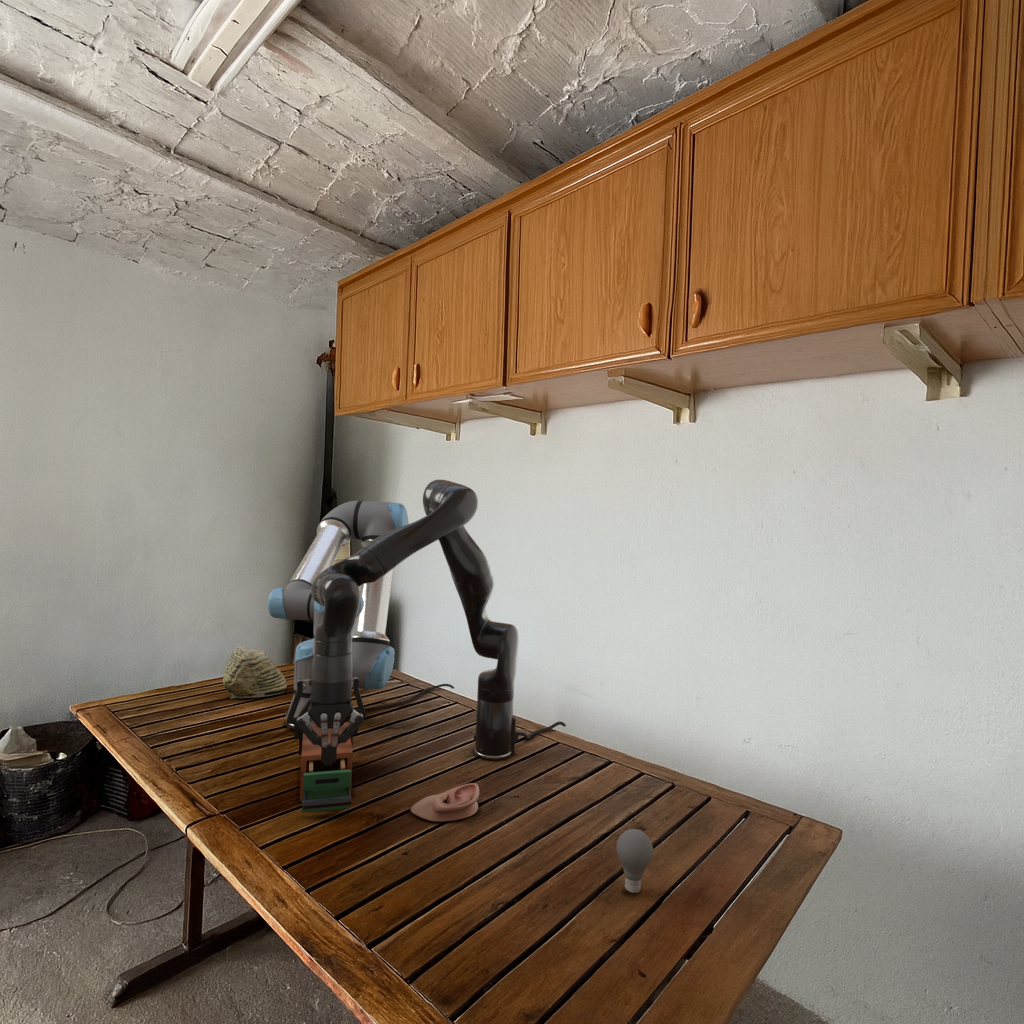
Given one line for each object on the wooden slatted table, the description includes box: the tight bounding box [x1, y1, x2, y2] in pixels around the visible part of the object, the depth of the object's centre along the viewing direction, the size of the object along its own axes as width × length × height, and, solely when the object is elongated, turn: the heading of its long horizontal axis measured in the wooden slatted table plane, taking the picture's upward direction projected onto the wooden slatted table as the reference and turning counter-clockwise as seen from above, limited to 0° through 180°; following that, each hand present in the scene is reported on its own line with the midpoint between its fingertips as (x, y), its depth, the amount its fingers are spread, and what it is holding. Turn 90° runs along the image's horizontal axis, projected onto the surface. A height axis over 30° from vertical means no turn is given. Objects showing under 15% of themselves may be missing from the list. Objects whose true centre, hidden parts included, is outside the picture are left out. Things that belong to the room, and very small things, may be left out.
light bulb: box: [615, 828, 654, 894], centre depth 106 cm, size 6×6×10 cm
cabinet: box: [299, 721, 354, 803], centre depth 142 cm, size 19×10×10 cm, turn 17°
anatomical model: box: [410, 782, 480, 822], centre depth 131 cm, size 13×4×12 cm
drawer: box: [301, 758, 352, 814], centre depth 131 cm, size 23×9×7 cm, turn 17°
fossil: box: [222, 646, 288, 699], centre depth 198 cm, size 9×18×15 cm, turn 132°
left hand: (325, 751), depth 147 cm, fingers closed on cabinet, 10 cm apart
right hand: (328, 764), depth 122 cm, fingers closed
